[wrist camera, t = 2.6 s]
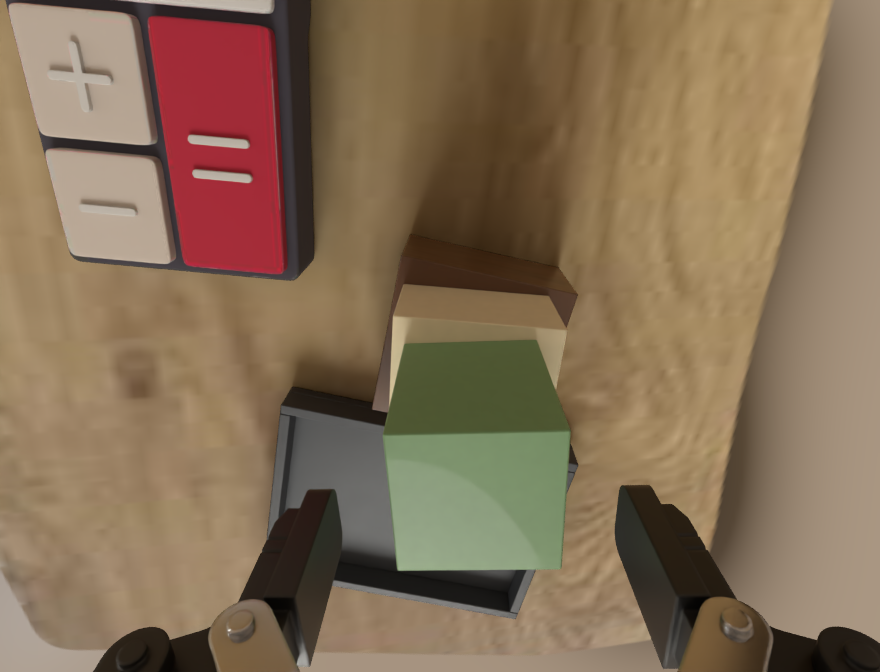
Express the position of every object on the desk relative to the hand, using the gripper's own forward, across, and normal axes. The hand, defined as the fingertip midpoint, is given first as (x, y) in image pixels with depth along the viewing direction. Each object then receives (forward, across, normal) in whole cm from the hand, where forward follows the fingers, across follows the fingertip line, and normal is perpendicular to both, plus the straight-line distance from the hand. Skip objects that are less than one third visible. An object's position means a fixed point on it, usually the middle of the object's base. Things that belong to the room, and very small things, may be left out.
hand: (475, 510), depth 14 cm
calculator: (+15, +12, -12) cm, 23 cm away
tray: (+15, +4, +12) cm, 19 cm away
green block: (+6, 0, 0) cm, 6 cm away
